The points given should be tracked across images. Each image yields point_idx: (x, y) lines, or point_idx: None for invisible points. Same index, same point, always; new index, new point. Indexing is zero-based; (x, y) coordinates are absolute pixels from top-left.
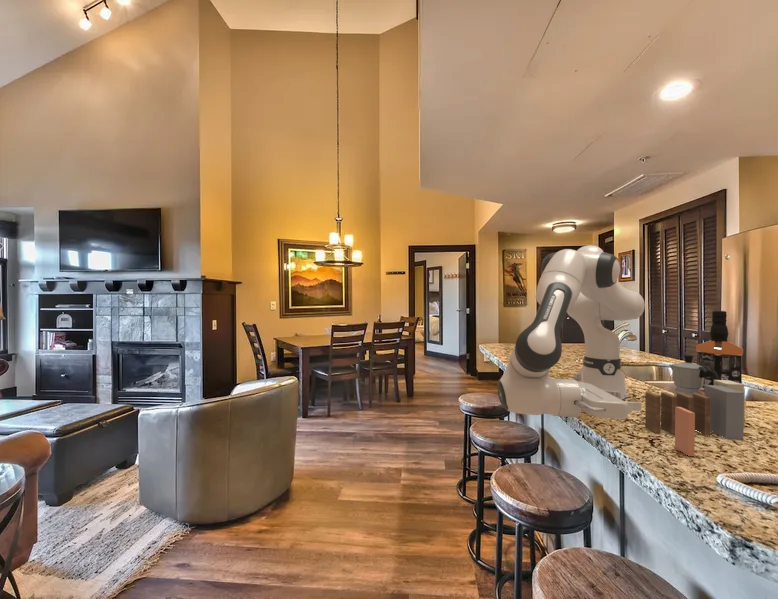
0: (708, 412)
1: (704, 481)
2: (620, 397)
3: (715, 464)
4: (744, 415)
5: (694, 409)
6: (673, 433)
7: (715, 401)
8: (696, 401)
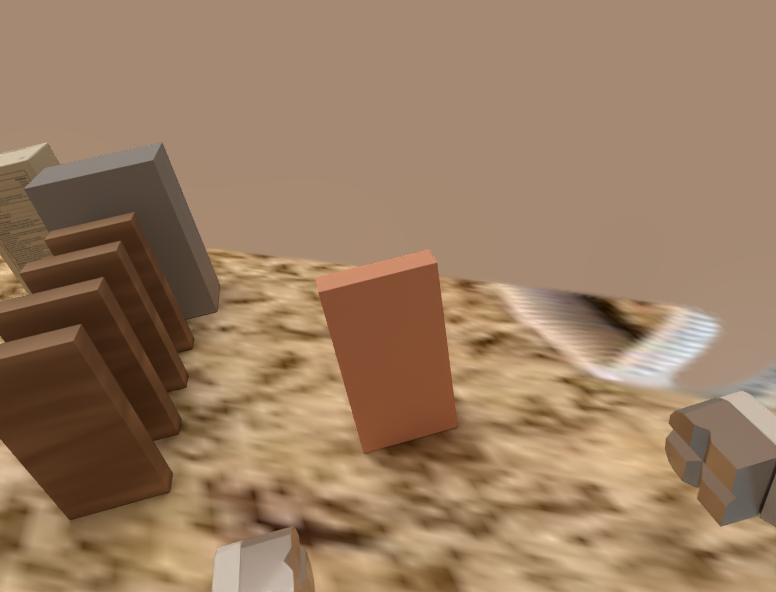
0: (159, 267)
1: None
2: (305, 553)
3: (497, 369)
4: None
5: None
6: (178, 425)
7: None
8: None
